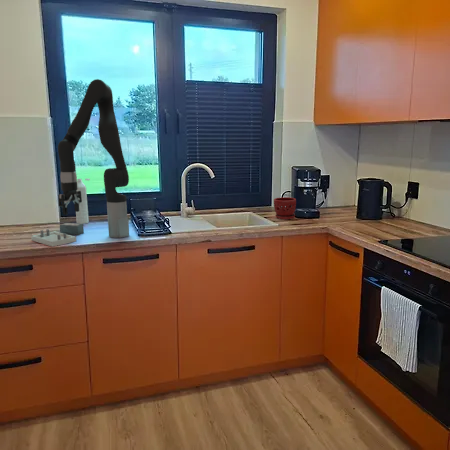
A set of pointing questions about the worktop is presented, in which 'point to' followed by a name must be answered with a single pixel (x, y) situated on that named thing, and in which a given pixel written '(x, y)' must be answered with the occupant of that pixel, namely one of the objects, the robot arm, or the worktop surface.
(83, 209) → the water bottle
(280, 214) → the plant pot
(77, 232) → the block
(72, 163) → the robot arm
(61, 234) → the tray
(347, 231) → the worktop surface
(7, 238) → the worktop surface
